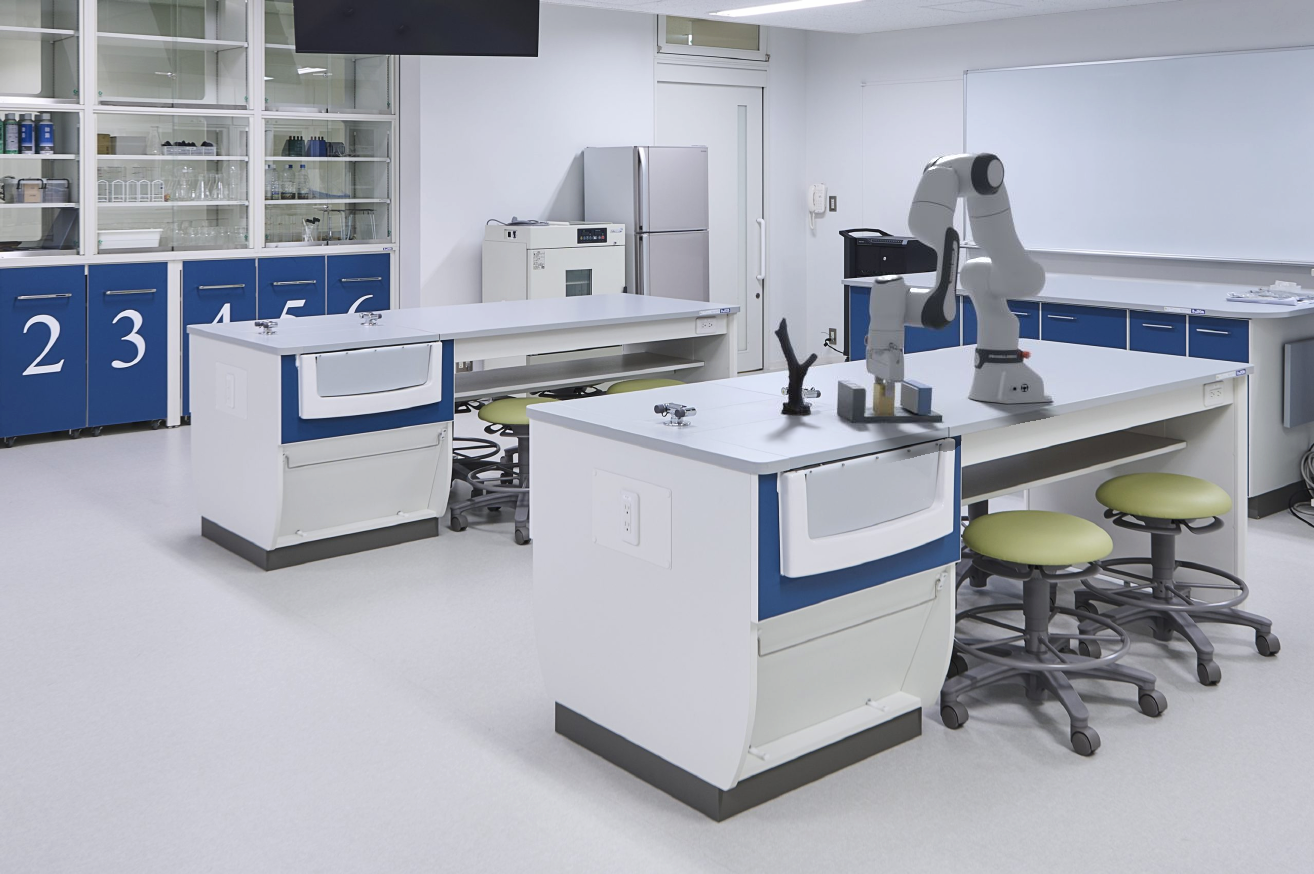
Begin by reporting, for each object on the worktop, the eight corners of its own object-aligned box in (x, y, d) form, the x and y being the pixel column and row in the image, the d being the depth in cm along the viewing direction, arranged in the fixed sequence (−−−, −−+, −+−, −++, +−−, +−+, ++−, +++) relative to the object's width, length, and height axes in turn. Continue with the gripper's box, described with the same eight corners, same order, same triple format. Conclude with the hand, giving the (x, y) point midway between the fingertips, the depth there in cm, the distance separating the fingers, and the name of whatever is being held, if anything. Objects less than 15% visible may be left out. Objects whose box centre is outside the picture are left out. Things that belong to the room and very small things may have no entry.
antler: (797, 409, 315) (800, 314, 310) (819, 413, 309) (823, 316, 304) (766, 414, 307) (768, 316, 303) (789, 418, 301) (791, 318, 297)
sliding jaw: (912, 405, 311) (913, 379, 310) (930, 414, 298) (932, 387, 296) (898, 405, 311) (900, 379, 310) (916, 414, 297) (918, 387, 296)
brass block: (887, 409, 306) (889, 382, 305) (894, 413, 301) (895, 385, 300) (872, 409, 306) (873, 382, 304) (878, 413, 301) (879, 385, 300)
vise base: (923, 412, 312) (924, 379, 310) (942, 421, 298) (943, 387, 297) (836, 413, 309) (838, 380, 308) (852, 422, 296) (853, 388, 294)
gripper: (911, 345, 290) (909, 402, 293) (886, 336, 310) (884, 389, 313) (886, 345, 290) (884, 402, 292) (862, 336, 310) (860, 389, 312)
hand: (884, 395), depth 303 cm, fingers open, 5 cm apart
